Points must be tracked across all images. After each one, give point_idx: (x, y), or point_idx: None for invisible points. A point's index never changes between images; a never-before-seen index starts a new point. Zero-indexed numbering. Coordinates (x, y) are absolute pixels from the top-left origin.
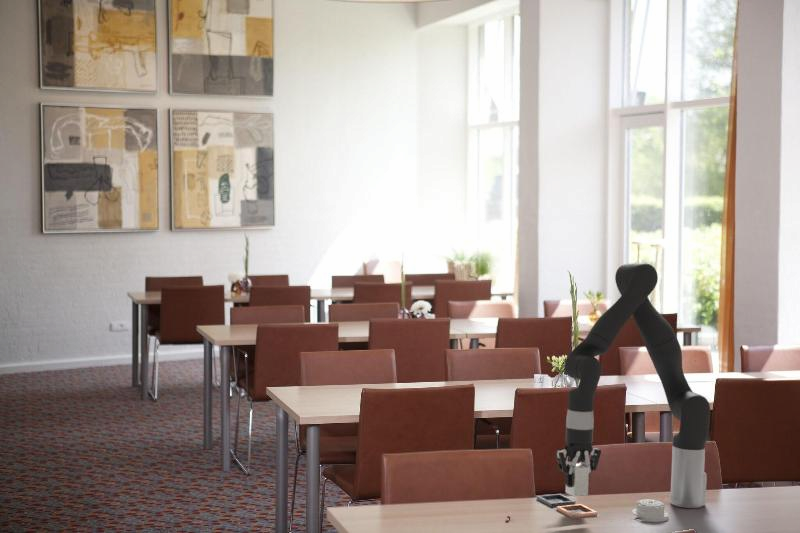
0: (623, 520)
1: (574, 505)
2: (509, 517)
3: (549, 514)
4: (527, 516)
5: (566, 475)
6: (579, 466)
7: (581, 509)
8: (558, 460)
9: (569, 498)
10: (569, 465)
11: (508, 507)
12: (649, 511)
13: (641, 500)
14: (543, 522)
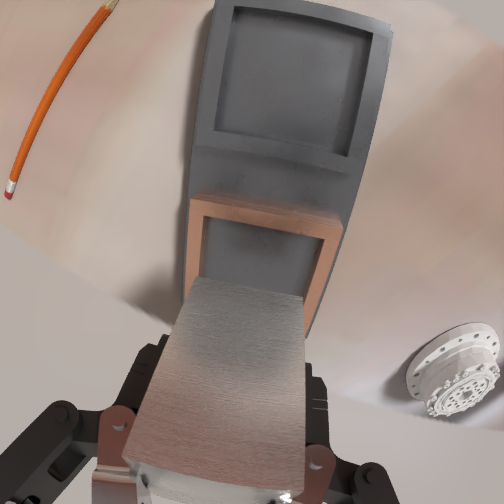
0: (367, 358)
1: (290, 230)
2: (16, 171)
3: (163, 182)
4: (73, 167)
5: (125, 400)
6: (206, 501)
7: (314, 246)
8: (10, 464)
9: (369, 118)
10: (130, 471)
11: (72, 35)
12: (424, 401)
13: (472, 376)
14: (94, 249)
